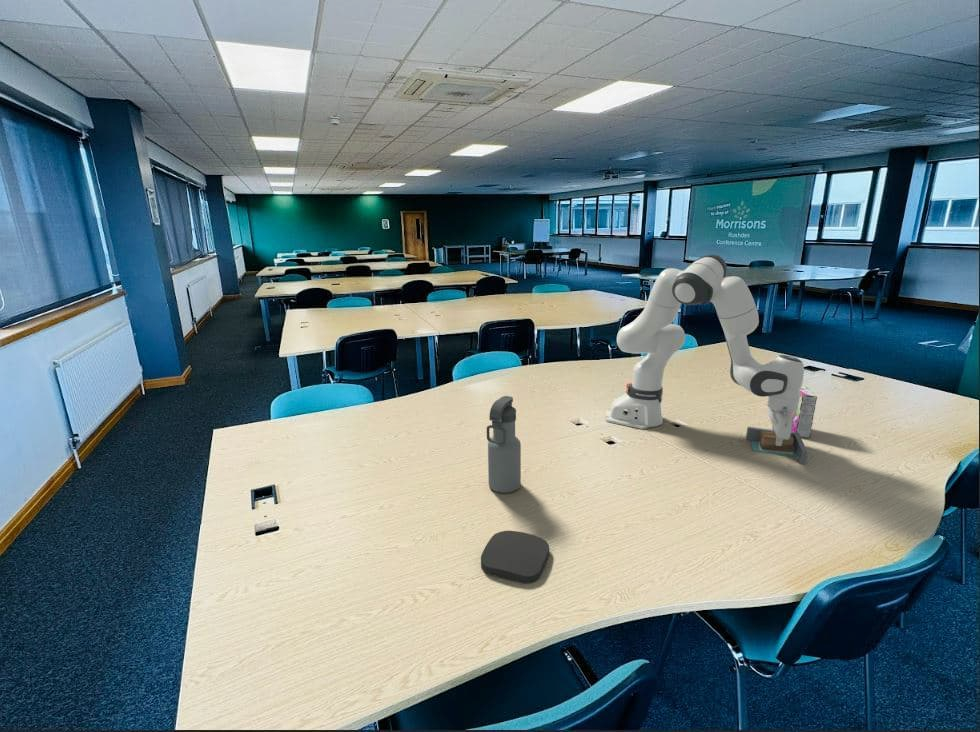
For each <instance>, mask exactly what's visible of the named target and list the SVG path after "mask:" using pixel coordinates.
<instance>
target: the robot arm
mask: <svg viewBox="0 0 980 732" xmlns="http://www.w3.org/2000/svg"><path fill="white" fill-rule="evenodd" d="M727 272H728V265H727V263H726V261H725V260H724V258H723V257H721V256H720V255H717V254H712V253H711V254H706V255H703V256H700V257H699V258H697V259H696V260H694V261H693V262H692V263H690V264H689V265H688V266H687V267H686V268H685V269H684V270H681V269H677V268H674V267H673V268H672V267H670V268H666V269H664V270H662V271H660V273H659V275H658V276H657V278H656V280H655V282H654V283H653V286H652V288H651V290H650V293H649V296H648V299H647V302H646V303H645V304H646V305H645V307H644V309H643V310H642V311H641V312H640V314H639V315H638V316H637V317H636V318H635V319H634V320H633V321H631V322H630V323H628V324H626V325H625V326H623V327H621V328H620V329H619V330H618V333H617V335H616V345H617V346H618V348H619V350H620V351H622V352H623V353H629V354H646V355H645V357H644V358H643V359H641V360H639V361H638V362H637V363H635V365H634V366H633V369H632V381H631V382H627V383H626V391H625V393H623V395H621V396H618V397H616V398H615V399H614V400H613V401H612V404H611V405H610V408H608V409H607V410H606V411H604V412H605V413H604V417H603V418H604V420H605V421H606V422H608V423H611V424H617V425H621V426H627V427H630V428H636V429H640V430H645V429H648V428H653V427H659V426H661V425H662V424H663V423H664V419H663V416H662V400H663V395H664V394H663V393H664V390H663V379H664V372H665V369H666V366H667V363H668V362H669V360H670V359H671V358H672V356H673V355H674V354H675V353H676V352H678V350H680V349H681V348H682V347H683V346H684V345H685V343H686V334H685V330H684V328H682V326H681V325H678V324H673V322H674V321H675V320H676V319H677V318H676V317H677V316H678V313H679V310H680V308H681V306H682V304H683V305H686V306H696V305H700V306H705V305H707V304H709V303H710V302H711V304H713V306H714V308H715V311H716V314H717V317H718V320H719V323H720V325H721V328H722V330H723V333H724V339H725V342H726V346H727V349H728V353H729V357H730V368H729V369H730V371H729V373H730V378H731V380H732V381H733V382H734V383H735V384H736V385H738V386H741V387H743V388H744V389H745V390H747V391H748V392H750V393H752V394H753V395H754V396H758V397H764V398H765V397H768V398H767V408H768V417H769V420H770V423H771V427H772V428H771V430H772V432H775V434H776V436H777V437H776V440H775V444H776V446H781V445H782V441H783V439H786V440H788V439H789V438H790V434H791V427H792V417H791V415H792V412H796V411H797V410H798V404H799V399H800V393H799V391H800V388H801V386H803V381H804V375H805V374H804V373H805V366H804V365H805V364H804V363H803V361H802V360H801V359H799V358H798V357H795V356H790V355H787V354H786V355H785V354H780V355H777V357H776V358H775V359H773V360H772V361H769V362H767V363H764V364H762V363H760V362H759V361H757V360H756V359H755V358H754V357H753V356H752V353H751V351H750V346H749V342H748V338H747V336H748V335H750V334H751V333H753V332H755V330H756V329H757V327H759V323H760V320H759V319H760V318H759V312H758V309H757V305H756V302H755V300H754V297H753V295H752V292H751V291H750V288H749V287H748V285H747V283H746V281H745V280H744V279H743V278H742V277H739V276H736V275H735V276H733V275H732V276H726V275H727Z"/></svg>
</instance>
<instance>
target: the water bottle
mask: <svg viewBox="0 0 980 732" xmlns="http://www.w3.org/2000/svg"><path fill="white" fill-rule="evenodd" d="M513 402H514V397H512V396H509V395H504V396H501V397H500V398H498V399H496V400H495V401H494V402H493V404H492V405H491V407H490V410H489V421H491V424H489V425H488V426H487V427H486V440H487V441H488V442H487V454H488V455H487V463H488V464H487V465H488V466H487V467H488V469H487V470H488V474H487V475H488V486H489V488H490V489H491V491H494V492H496V493H499V494H509V492H510V493H513V491H514V492H515V490H516V491H517V490H519V489H520V487H521V481H522V478H521V476H522V475H521V473H522V471H521V470H522V467H521V465H522V463H521V462H522V459H521V457H522V456H521V455H522V454H521V453H522V451H521V450H522V447H521V445H522V443H521V441H520V438H518V436H516V421H517V409H516V407H514V406H513ZM490 429H492V435H493V436H492V437H491V436H490Z"/></svg>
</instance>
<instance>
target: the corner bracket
mask: <svg viewBox="0 0 980 732" xmlns="http://www.w3.org/2000/svg"><path fill="white" fill-rule="evenodd" d="M761 431H767V432H772V429H769V428H762V427H761V428H760V427H753V426H747V428H746V434H745V435H746V436H745V440H746V441H751V442H750V443H751V447H752V450H753V452H757V453H765V454H769V455H770V454H773V455H778V456H779V455H780V456H786V457H792V458H797V461H798V462H799V465H806V463H807V456H808V449H807V448H806V446H805V443H804V442H803V439H802V437H800V435H799V433H794V432H791V436H792V437H793V439H794V441H793V447H792V452H791V453H788V452H779V451H770V450H762V449H761V447H760V445H759V442H760V435H761Z"/></svg>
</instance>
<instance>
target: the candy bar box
mask: <svg viewBox="0 0 980 732" xmlns="http://www.w3.org/2000/svg"><path fill="white" fill-rule="evenodd" d="M799 393H800V399H799V404H798V410H797V411H796V412H792V415H791V417H792V427H791V432H794V433H799V435H800V437H801V439H802V438H803V439H804V438H805V439H806V438H807V439H809V438H810V437H811V432H812V427H813V422H814V421H813V420H814V417H815V412H816V411H815V410H816V405H817V399H818V396H817V394H815V393H814V392H812V390H810V389H809V388H808V387H807V386H805V385H802V386H801V388H800V391H799Z"/></svg>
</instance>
